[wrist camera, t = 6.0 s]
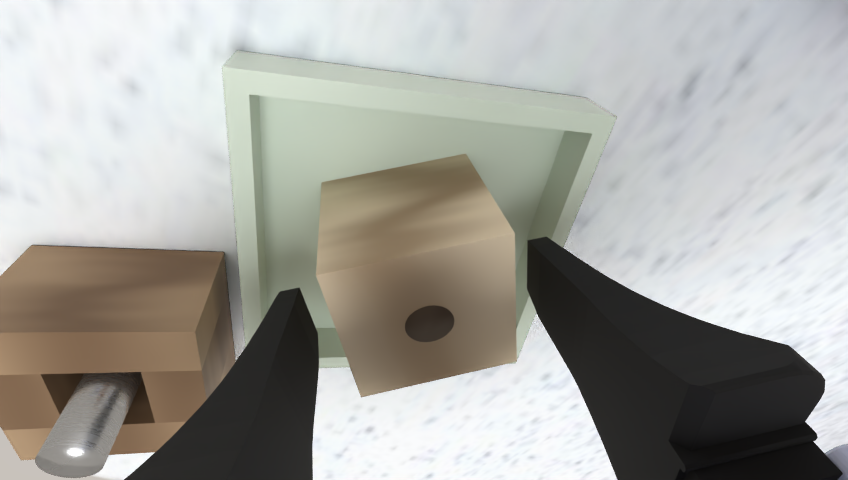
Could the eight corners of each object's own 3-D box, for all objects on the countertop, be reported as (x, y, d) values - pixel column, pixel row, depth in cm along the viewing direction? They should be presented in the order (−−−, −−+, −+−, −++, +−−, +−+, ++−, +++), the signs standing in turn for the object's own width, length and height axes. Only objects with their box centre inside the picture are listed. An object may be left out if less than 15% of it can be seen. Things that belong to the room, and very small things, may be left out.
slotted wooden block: (224, 252, 16) (194, 331, 13) (235, 362, 19) (214, 448, 16) (31, 245, 14) (-57, 332, 11) (78, 365, 18) (21, 460, 14)
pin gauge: (167, 296, 17) (96, 443, 12) (173, 326, 17) (109, 475, 13) (119, 295, 16) (26, 447, 11) (128, 326, 17) (45, 480, 12)
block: (465, 153, 15) (515, 233, 11) (475, 265, 18) (516, 361, 14) (321, 182, 15) (316, 275, 10) (355, 291, 17) (360, 397, 13)
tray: (586, 97, 15) (616, 116, 13) (501, 330, 21) (515, 363, 19) (236, 50, 12) (222, 67, 11) (255, 331, 18) (247, 369, 17)
